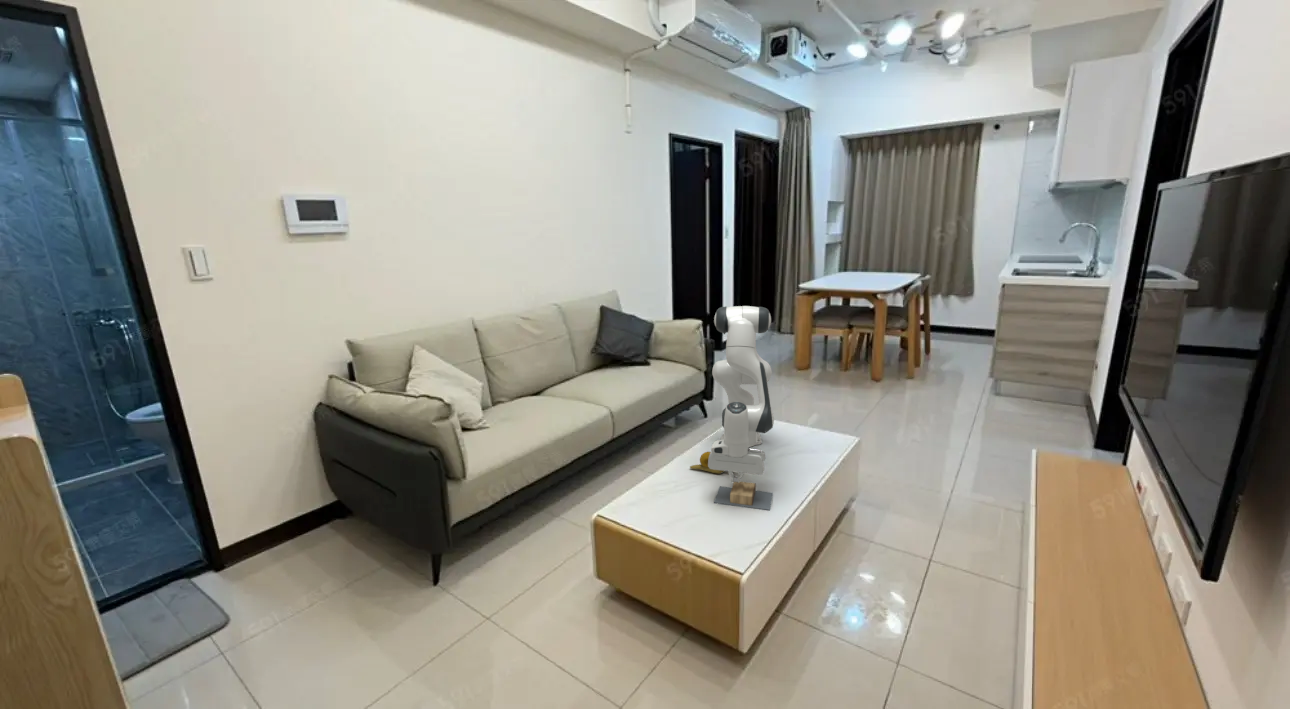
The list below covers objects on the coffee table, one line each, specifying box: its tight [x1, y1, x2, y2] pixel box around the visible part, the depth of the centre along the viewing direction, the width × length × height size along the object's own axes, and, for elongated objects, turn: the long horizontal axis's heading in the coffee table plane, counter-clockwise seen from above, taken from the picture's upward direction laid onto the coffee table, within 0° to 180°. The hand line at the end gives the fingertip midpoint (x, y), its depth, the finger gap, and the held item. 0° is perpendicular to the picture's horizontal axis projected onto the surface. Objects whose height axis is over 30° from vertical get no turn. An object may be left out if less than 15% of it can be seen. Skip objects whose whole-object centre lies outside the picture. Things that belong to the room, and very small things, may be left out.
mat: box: [713, 485, 774, 511], centre depth 195 cm, size 12×20×1 cm, turn 72°
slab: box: [730, 481, 757, 505], centre depth 195 cm, size 10×4×8 cm
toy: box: [689, 451, 725, 475], centre depth 215 cm, size 8×21×10 cm, turn 77°
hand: (735, 481), depth 194 cm, fingers closed
